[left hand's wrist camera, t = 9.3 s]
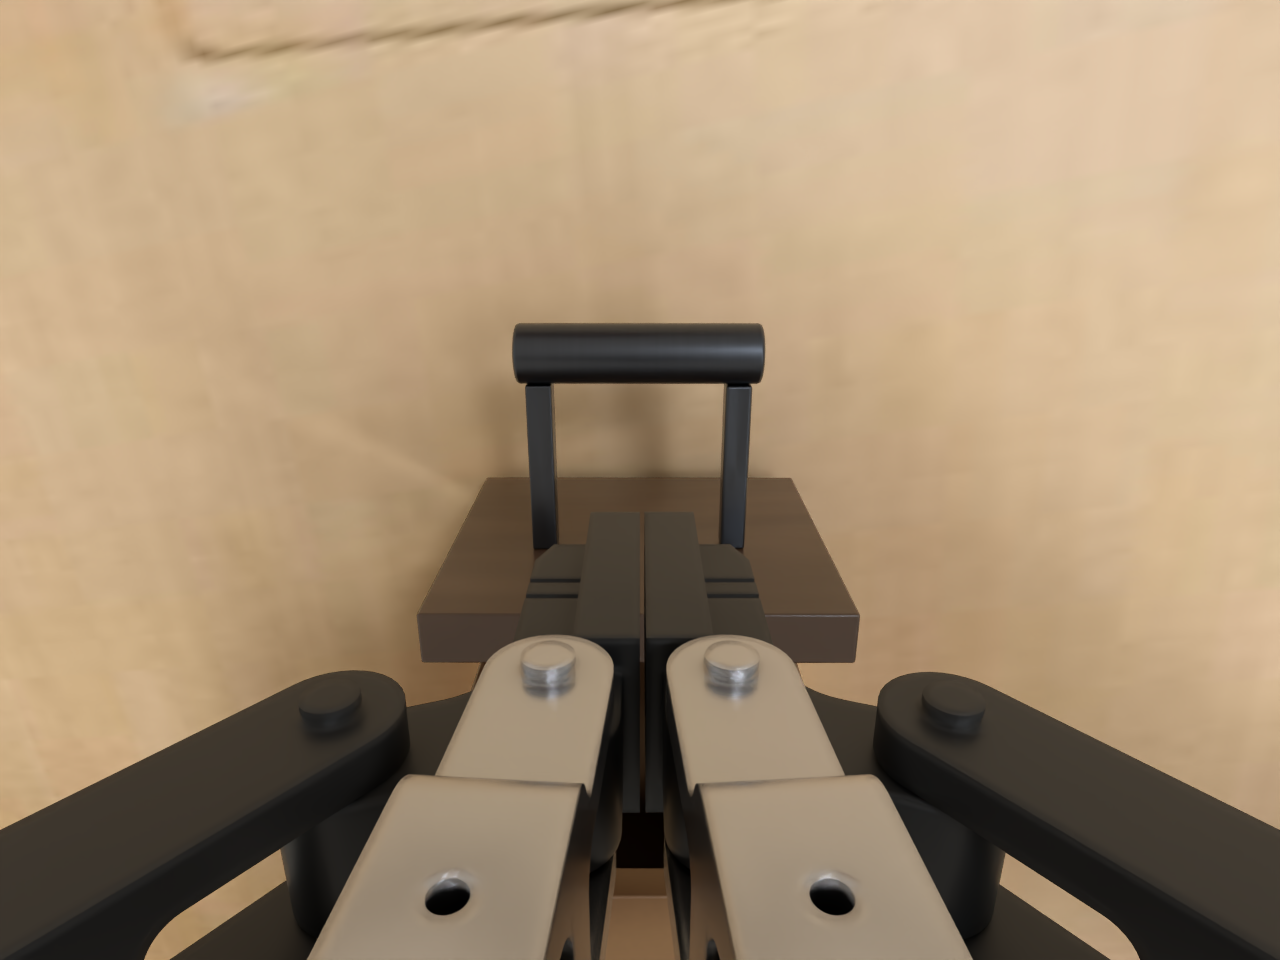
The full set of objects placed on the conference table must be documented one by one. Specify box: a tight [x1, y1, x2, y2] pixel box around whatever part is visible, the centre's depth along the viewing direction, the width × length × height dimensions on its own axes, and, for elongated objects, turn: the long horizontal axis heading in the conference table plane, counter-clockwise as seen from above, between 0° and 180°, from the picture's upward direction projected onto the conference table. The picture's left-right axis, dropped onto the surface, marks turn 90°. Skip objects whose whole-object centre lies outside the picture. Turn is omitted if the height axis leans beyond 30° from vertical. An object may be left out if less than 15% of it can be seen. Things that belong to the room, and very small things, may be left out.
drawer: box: [417, 323, 860, 868], centre depth 23 cm, size 25×9×8 cm, turn 0°
